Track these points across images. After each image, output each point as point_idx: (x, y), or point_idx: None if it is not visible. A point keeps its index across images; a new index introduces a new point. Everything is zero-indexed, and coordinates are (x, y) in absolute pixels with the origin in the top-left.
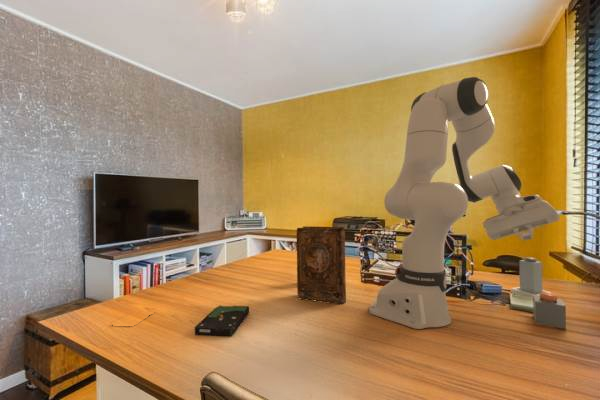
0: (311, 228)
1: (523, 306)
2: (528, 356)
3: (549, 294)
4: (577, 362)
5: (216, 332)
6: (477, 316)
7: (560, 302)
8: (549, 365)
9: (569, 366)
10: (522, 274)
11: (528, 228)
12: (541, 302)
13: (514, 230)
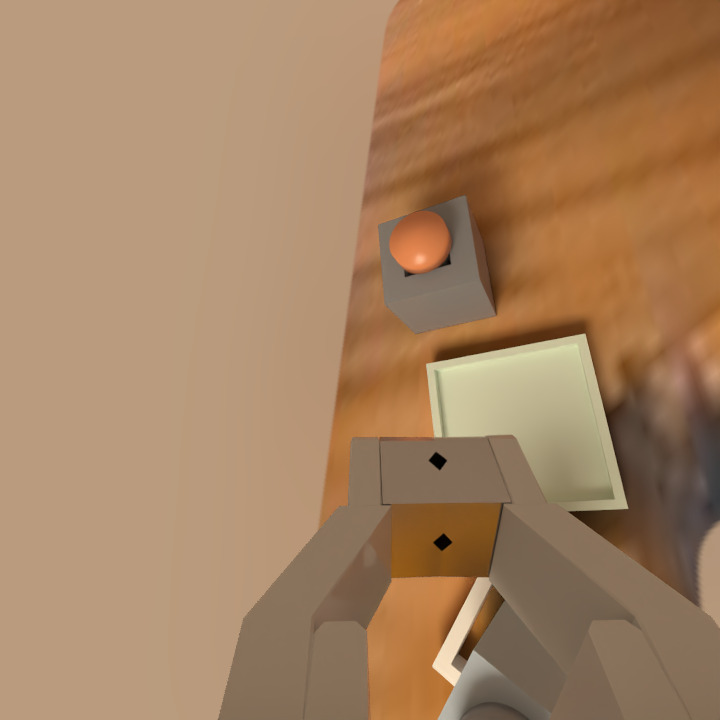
0: None
1: (533, 344)
2: (482, 29)
3: (413, 241)
4: (399, 93)
5: None
6: (681, 138)
7: (389, 253)
8: (444, 33)
9: (412, 63)
10: None
11: (340, 570)
12: (446, 202)
13: (703, 653)
